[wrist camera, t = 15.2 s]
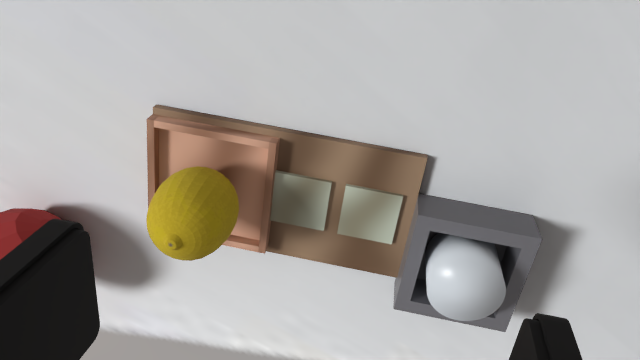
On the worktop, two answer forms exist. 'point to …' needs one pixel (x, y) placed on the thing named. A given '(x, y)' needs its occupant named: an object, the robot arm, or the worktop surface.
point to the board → (297, 187)
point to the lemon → (192, 213)
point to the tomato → (20, 226)
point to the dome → (463, 277)
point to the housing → (474, 223)
